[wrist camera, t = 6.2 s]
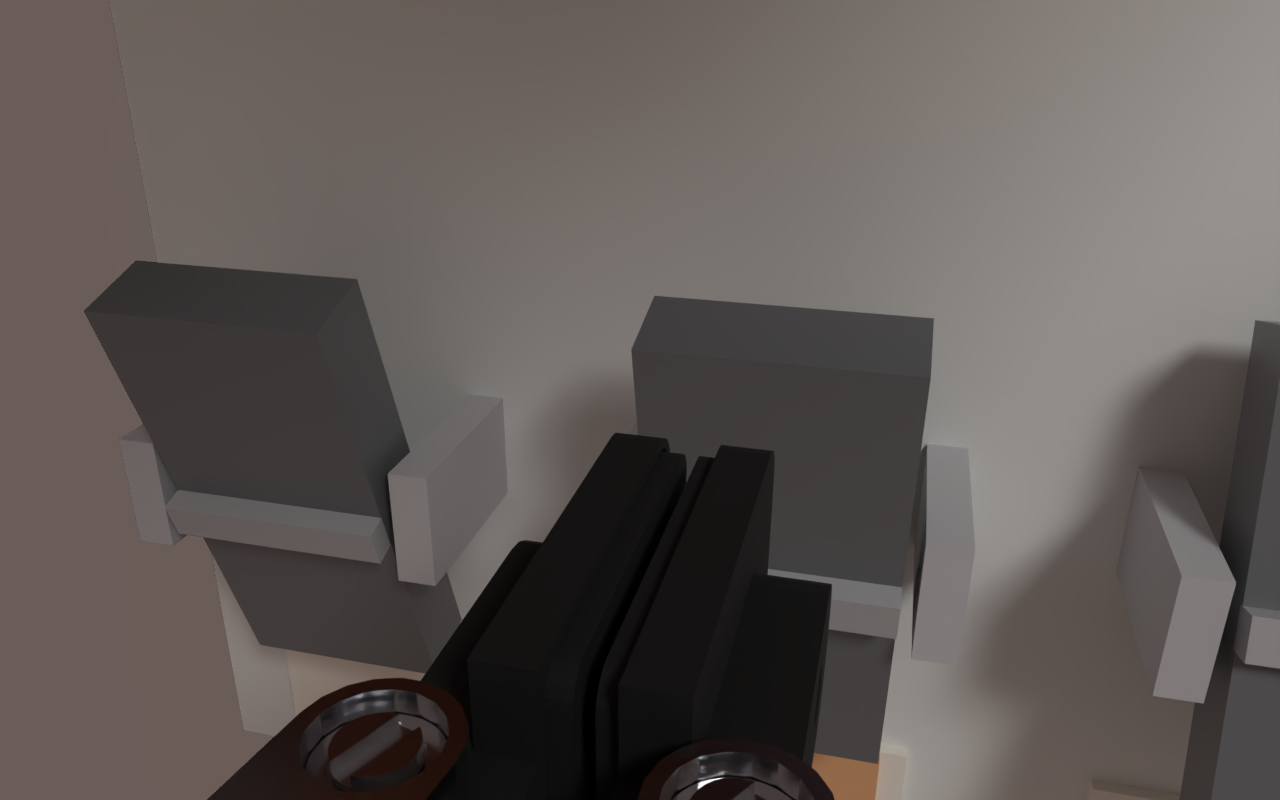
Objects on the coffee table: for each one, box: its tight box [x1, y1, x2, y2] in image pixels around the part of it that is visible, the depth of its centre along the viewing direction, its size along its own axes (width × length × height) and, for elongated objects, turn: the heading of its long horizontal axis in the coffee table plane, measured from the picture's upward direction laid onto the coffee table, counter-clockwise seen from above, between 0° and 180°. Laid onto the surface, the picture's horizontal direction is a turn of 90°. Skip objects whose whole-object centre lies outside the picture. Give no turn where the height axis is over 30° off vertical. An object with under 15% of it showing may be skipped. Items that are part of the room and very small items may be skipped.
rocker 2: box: [631, 296, 934, 764], centre depth 20 cm, size 10×5×2 cm, turn 0°
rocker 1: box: [84, 261, 462, 674], centre depth 22 cm, size 10×5×2 cm, turn 0°
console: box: [109, 0, 1280, 800], centre depth 22 cm, size 20×30×8 cm, turn 89°
